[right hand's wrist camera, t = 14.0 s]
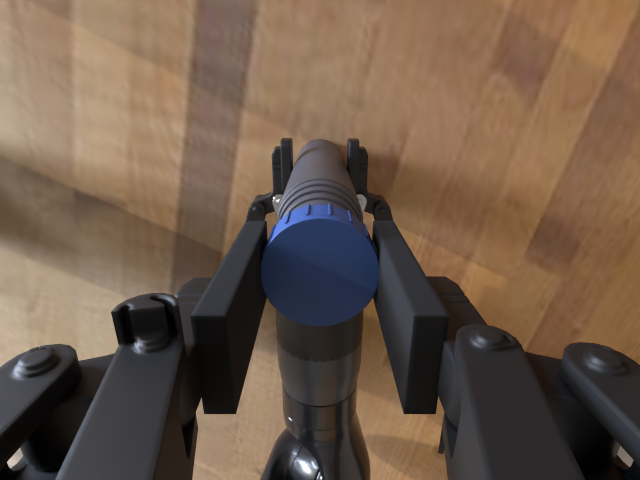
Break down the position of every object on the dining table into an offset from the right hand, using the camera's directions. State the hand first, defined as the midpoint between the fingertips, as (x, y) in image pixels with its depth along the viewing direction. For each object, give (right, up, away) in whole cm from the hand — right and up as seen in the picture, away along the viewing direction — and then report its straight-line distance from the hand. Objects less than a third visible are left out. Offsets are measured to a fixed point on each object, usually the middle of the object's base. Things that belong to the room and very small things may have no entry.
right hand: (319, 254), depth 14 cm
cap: (0, -1, -1) cm, 2 cm away
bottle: (0, +8, +20) cm, 21 cm away
